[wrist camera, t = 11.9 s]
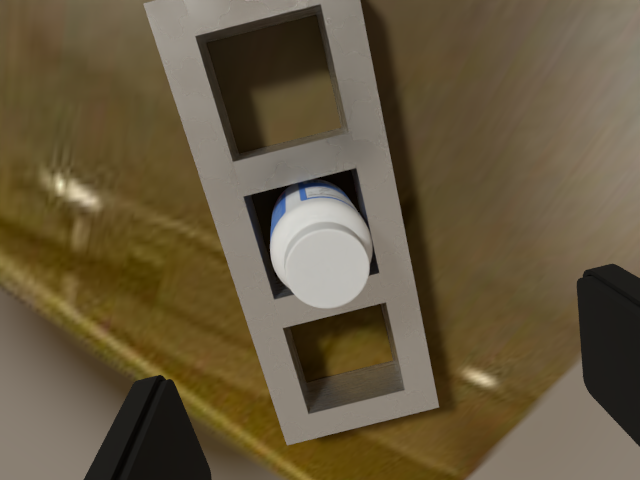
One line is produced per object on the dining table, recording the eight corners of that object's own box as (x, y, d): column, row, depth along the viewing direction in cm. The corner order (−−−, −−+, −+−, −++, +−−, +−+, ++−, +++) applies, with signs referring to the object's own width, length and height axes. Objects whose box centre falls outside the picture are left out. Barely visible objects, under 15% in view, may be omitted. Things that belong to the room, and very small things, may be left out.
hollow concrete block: (161, 14, 27) (143, 3, 24) (342, -32, 27) (350, -50, 24) (286, 411, 36) (286, 445, 32) (424, 376, 36) (439, 407, 32)
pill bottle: (302, 271, 32) (309, 344, 23) (255, 208, 31) (242, 259, 22) (370, 226, 32) (405, 283, 22) (325, 160, 30) (343, 191, 21)
